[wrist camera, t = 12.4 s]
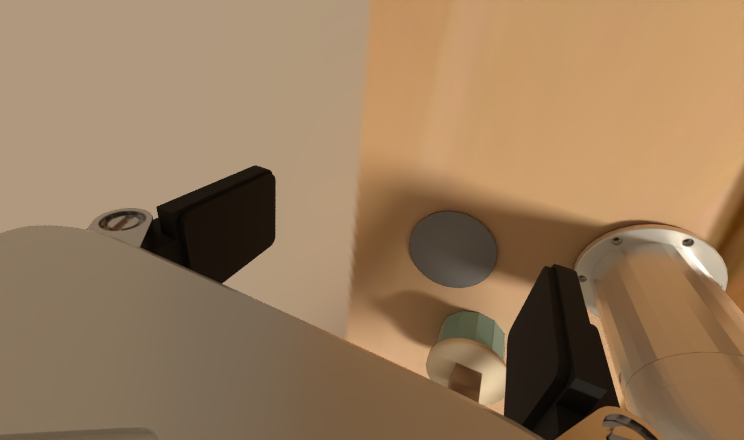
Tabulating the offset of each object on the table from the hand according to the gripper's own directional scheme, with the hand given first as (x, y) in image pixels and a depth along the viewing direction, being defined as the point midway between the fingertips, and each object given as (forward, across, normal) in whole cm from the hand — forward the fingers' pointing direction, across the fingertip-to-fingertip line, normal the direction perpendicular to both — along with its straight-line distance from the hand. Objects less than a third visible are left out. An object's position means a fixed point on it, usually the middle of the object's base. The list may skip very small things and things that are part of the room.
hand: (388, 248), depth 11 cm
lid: (+22, -8, +29) cm, 38 cm away
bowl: (+28, -8, +29) cm, 42 cm away
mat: (+28, -2, +17) cm, 33 cm away
